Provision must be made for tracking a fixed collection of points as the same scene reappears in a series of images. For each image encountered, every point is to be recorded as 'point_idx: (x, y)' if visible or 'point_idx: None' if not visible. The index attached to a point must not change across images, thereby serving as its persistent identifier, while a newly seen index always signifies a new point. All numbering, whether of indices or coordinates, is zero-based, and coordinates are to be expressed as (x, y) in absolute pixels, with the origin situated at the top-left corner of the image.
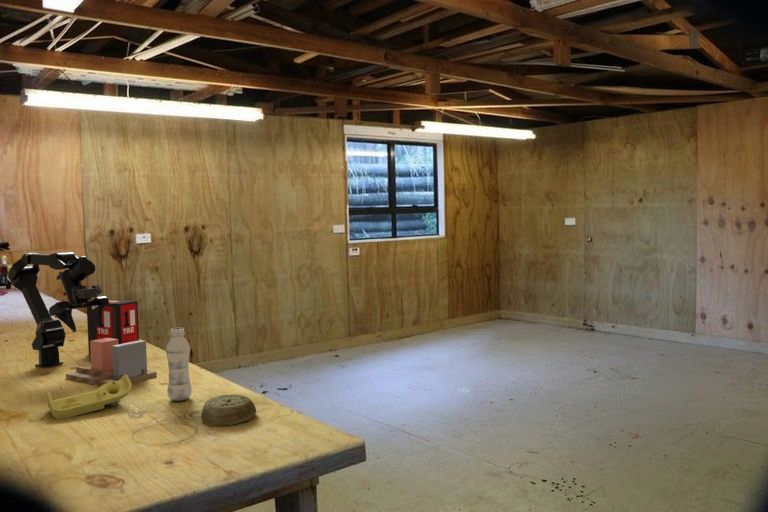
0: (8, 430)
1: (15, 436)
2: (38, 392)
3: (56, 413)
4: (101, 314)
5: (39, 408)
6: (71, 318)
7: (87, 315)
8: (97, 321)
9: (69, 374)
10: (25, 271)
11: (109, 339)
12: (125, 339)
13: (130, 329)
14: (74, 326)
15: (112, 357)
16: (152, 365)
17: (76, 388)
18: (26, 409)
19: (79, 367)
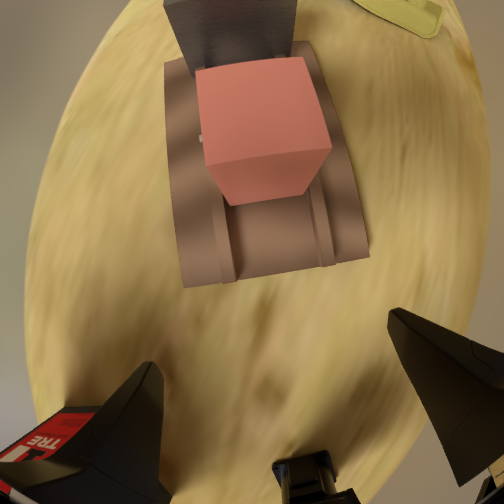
0: (464, 30)
1: (453, 13)
2: (448, 161)
3: (422, 3)
4: (80, 432)
5: (444, 60)
6: (478, 360)
7: None
8: (148, 413)
9: (365, 236)
10: None
11: (228, 97)
12: (68, 430)
13: (37, 442)
14: (417, 322)
15: (294, 16)
16: (93, 205)
17: (375, 112)
18: (460, 74)
19: (331, 244)
